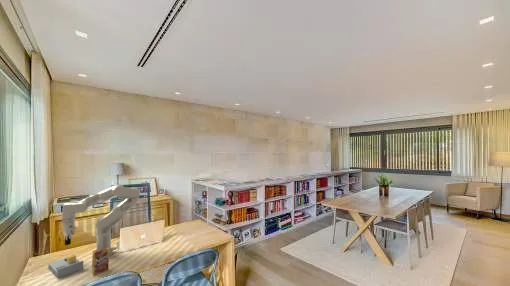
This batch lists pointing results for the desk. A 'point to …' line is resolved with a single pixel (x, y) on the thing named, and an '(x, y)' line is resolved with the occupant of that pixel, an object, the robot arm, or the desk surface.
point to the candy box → (100, 260)
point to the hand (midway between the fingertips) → (67, 244)
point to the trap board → (64, 267)
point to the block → (71, 258)
